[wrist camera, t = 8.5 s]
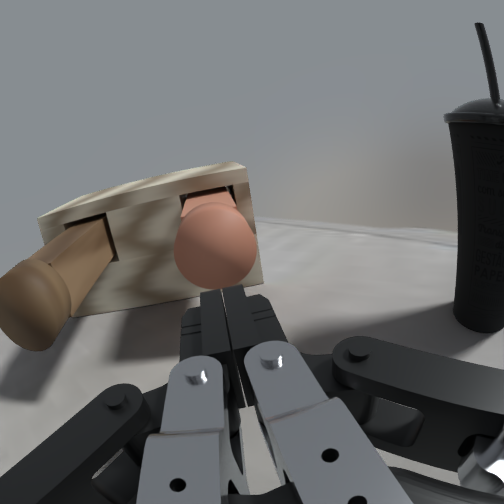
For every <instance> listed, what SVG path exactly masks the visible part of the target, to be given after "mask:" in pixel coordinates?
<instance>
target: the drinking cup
mask: <svg viewBox="0 0 504 504" xmlns="http://www.w3.org/2000/svg"><path fill="white" fill-rule="evenodd" d="M475 28H476V31H477V35H478V38H479V42H480V46H481V50H482V54H483V58H484V63H485V67H486V73H487V78H488V84H489V90H490V97H491V98H490V99H489V98H488V99H479V100H475V101H471V102H467V103H465V104H463V105H461V106H459V107H458V108H456V109H455V110H454V111H452V112H451V113H446V114H444V121H445V123H448V124H449V130H450V136H451V143H452V150H453V158H454V167H455V178H456V191H457V210H458V254H457V274H456V287H455V298H454V307H453V312H454V315H455V317H456V319H457V320H458V321H459V322H460V323H461V324H462V325H464V326H465V327H467V328H469V329H471V330H474V331H478V332H484V333H490V332H496V331H498V330H500V329H502V328H503V327H504V100H502V99H500V95H499V89H498V83H497V77H496V72H495V67H494V62H493V58H492V54H491V49H490V45H489V41H488V38H487V34H486V31H485V28H484V24H482V23H475Z"/></svg>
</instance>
